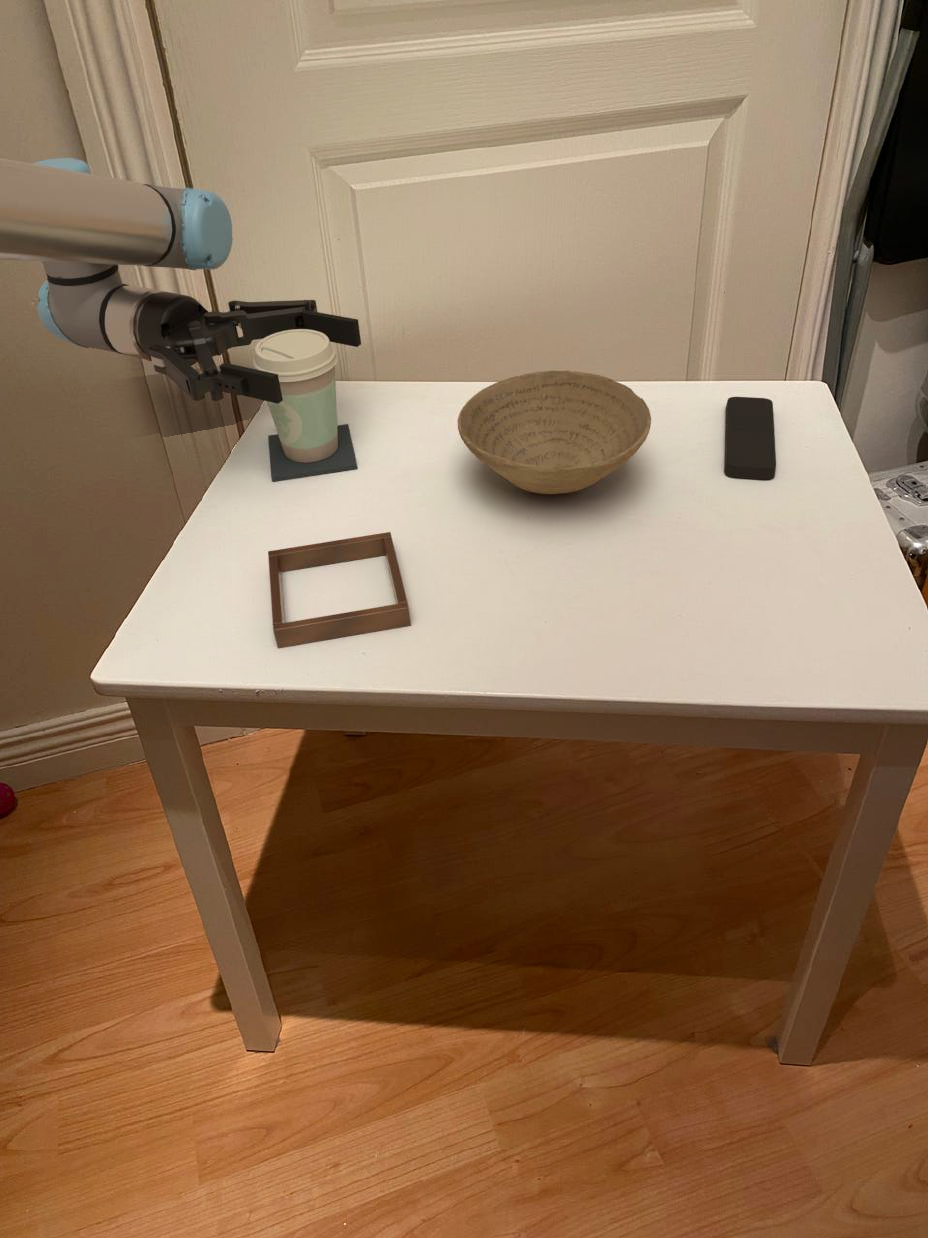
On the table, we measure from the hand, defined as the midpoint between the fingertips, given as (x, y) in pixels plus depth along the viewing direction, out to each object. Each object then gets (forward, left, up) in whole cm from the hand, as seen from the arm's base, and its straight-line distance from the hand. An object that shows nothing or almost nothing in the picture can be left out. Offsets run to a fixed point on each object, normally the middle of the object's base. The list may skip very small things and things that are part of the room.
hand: (320, 359), depth 93 cm
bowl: (+21, -11, -12) cm, 26 cm away
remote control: (+43, -9, -12) cm, 45 cm away
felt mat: (-3, +2, -12) cm, 12 cm away
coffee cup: (-3, +2, -11) cm, 12 cm away
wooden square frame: (-2, -23, -12) cm, 26 cm away
